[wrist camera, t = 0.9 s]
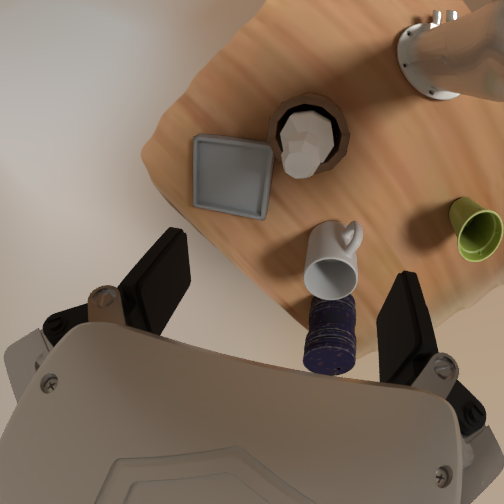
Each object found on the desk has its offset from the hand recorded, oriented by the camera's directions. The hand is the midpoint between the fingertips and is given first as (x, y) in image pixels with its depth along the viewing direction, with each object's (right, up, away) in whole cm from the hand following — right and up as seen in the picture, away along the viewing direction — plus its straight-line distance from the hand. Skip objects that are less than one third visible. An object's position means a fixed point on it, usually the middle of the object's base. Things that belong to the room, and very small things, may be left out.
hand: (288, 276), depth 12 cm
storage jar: (+16, -10, +46) cm, 50 cm away
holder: (+7, +20, +27) cm, 35 cm away
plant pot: (+36, +8, +27) cm, 46 cm away
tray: (-5, +14, +35) cm, 38 cm away
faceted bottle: (+8, +20, +27) cm, 35 cm away
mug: (+14, +4, +37) cm, 39 cm away
